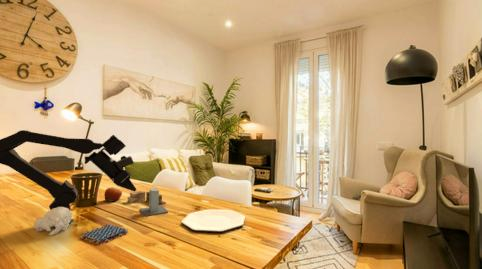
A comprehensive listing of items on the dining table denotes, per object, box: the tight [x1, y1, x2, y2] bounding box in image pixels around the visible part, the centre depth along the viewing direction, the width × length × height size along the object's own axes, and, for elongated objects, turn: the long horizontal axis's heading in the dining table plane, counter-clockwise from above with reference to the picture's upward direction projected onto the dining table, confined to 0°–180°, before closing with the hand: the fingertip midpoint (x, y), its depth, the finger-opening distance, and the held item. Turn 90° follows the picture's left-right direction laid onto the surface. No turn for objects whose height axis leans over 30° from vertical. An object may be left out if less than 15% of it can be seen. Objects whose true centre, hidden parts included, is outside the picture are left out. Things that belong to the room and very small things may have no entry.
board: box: [148, 187, 160, 212], centre depth 104 cm, size 3×5×9 cm, turn 30°
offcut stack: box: [127, 190, 146, 204], centre depth 120 cm, size 7×4×4 cm, turn 140°
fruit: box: [104, 186, 123, 204], centre depth 120 cm, size 8×8×8 cm
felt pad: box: [139, 205, 169, 217], centre depth 104 cm, size 10×10×1 cm
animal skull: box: [33, 207, 73, 237], centre depth 80 cm, size 6×8×12 cm
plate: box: [181, 208, 246, 233], centre depth 92 cm, size 24×24×2 cm
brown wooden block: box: [145, 191, 167, 206], centre depth 119 cm, size 4×12×4 cm, turn 50°
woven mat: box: [80, 224, 129, 245], centre depth 77 cm, size 10×11×2 cm
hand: (133, 189), depth 100 cm, fingers open, 9 cm apart
